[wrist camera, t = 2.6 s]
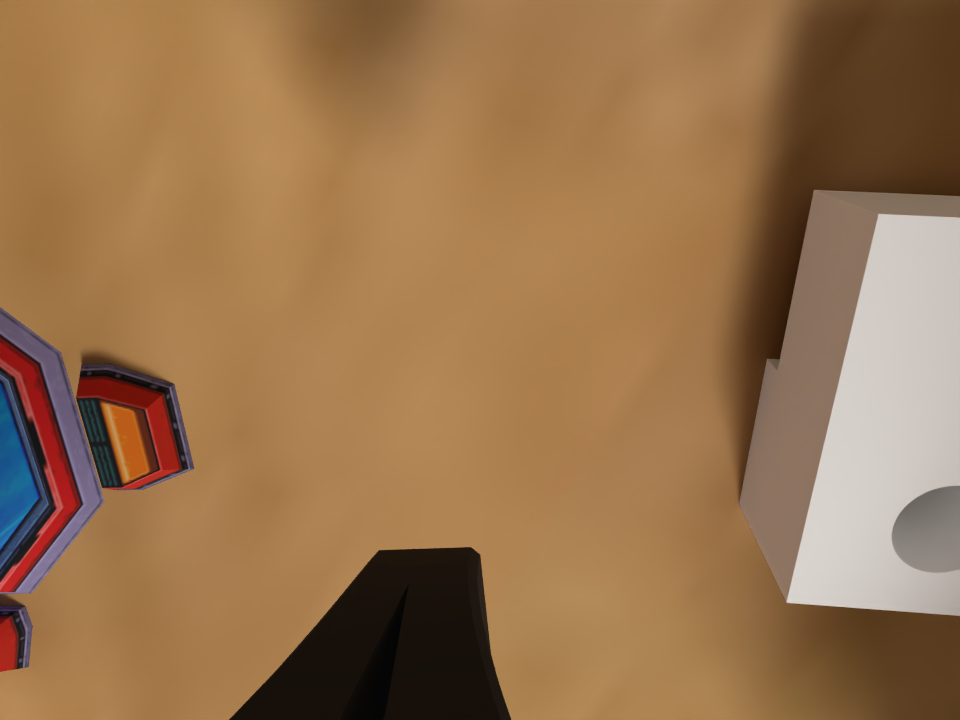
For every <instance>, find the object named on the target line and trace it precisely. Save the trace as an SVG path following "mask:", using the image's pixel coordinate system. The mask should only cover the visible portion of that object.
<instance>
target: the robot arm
mask: <svg viewBox="0 0 960 720" xmlns="http://www.w3.org/2000/svg"><path fill="white" fill-rule="evenodd" d="M229 720H511V718H510V715H509V712H508V709H507V706H506V703H505V700H504V697H503V694H502V691H501V688H500V685H499V681H498V678H497V675H496V671H495V667H494V664H493V660H492V656H491V650H490V641H489V632H488V623H487V613H486V604H485V595H484V586H483V577H482V567H481V558H480V554H479V553H477V552H476V551H475V550H474V549H472V548H471V547H464V548H434V549H404V550H379V551H378V552H377V553H376V554H375V555H374V557H373V558H372V559H371V560H370V561H369V562H368V563H367V565H366V566H365V567H364V568H363V569H362V571H361V572H360V573H359V574H358V575H357V577H356V578H355V579H354V580H353V582H352V583H351V584H350V585H349V586H348V588H347V589H346V590H345V591H344V593H343V594H342V595H341V596H340V597H339V599H338V600H337V601H336V602H335V603H334V605H333V606H332V607H331V608H330V609H329V611H328V612H327V613H326V614H325V615H324V617H323V618H322V619H321V620H320V621H319V622H318V624H317V625H316V626H315V627H314V628H313V629H312V631H311V632H310V633H309V634H308V635H307V636H306V637H305V639H304V640H303V641H302V642H301V643H300V644H299V645H298V646H297V648H296V649H295V650H294V651H293V652H292V653H291V654H290V656H289V657H288V658H287V659H286V660H285V661H284V662H283V664H282V665H281V666H280V667H279V668H278V669H277V670H276V671H275V672H274V673H273V675H272V676H271V677H270V678H269V679H268V680H267V681H266V682H265V683H264V684H263V685H262V686H261V687H260V688H259V689H258V690H257V691H256V692H255V693H254V694H253V695H252V697H251V698H250V699H249V700H248V701H247V702H246V703H245V704H244V705H243V706H242V707H241V708H240V709H239V710H238V711H237V712H236V713H235V714H234V715H233V716H232V717H231V718H230V719H229Z"/></svg>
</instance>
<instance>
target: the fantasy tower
mask: <svg viewBox="0 0 960 720" xmlns="http://www.w3.org/2000/svg"><path fill="white" fill-rule="evenodd" d="M76 399H77V403H78V406H79V410H80V413H81V416H82V420H83V423H84V427H85V430H86V434H87V437H88V440H89V444H90V447H91V451H92V454H93V458H94V461H95V465H96V468H97V471H98V475H99V478H100V482H101V485H102V488H106V489H113V490H144V489H146V488H148V487H151V486H153V485H156V484H158V483H160V482H163V481H165V480H168V479H170V478H173V477H175V476H178V475H180V474H182V473H185V472H187V471H190V470H192V469H194V466H193V462H192V457H191V453H190V449H189V445H188V440H187V436H186V432H185V428H184V423H183V419H182V415H181V411H180V406H179V402H178V398H177V394H176V389H175V385H174V384H172V383H169V382H166V381H163V380H160V379H156V378H153V377H150V376H147V375H144V374H140V373H137V372H134V371H131V370H128V369H125V368H121V367H118V366H115V365H112V364H82V365H81V372H80V378H79V384H78V390H77V397H76ZM103 502H104V499H103V495H102V492H101V488H100V485H99V481H98V478H97V475H96V471H95V468H94V464H93V461H92V458H91V454H90V451H89V447H88V444H87V440H86V437H85V434H84V430H83V427H82V423H81V420H80V416H79V413H78V410H77V406H76V403H75V399H74V396H73V392H72V389H71V386H70V382H69V379H68V375H67V372H66V368H65V365H64V362H63V358H62V355H61V352H60V351H58V350H57V349H55V348H54V347H53V346H51V345H50V344H49V343H47V342H46V341H45V340H43V339H42V338H41V337H39V336H38V335H37V334H35V333H34V332H33V331H31V330H30V329H29V328H27V327H26V326H25V325H23V324H22V323H21V322H19V321H18V320H17V319H15V318H14V317H13V316H11V315H10V314H9V313H7V312H6V311H5V310H3V309H2V308H0V594H12V593H32V592H33V591H34V590H35V588H36V587H37V586H38V585H39V583H40V582H41V581H42V580H43V578H44V577H45V576H46V575H47V573H48V572H49V571H50V569H51V568H52V567H53V566H54V564H55V563H56V562H57V561H58V559H59V558H60V557H61V556H62V554H63V553H64V552H65V550H66V549H67V548H68V547H69V545H70V544H71V543H72V542H73V540H74V539H75V538H76V536H77V535H78V534H79V533H80V531H81V530H82V529H83V528H84V526H85V525H86V524H87V523H88V521H89V520H90V519H91V517H92V516H93V515H94V514H95V512H96V511H97V510H98V509H99V507H100V506H101V505H102V504H103ZM32 627H33V626H32V623H31V620H30V618H29V615H28V612H27V609H26V607H25V606H0V672H1V671H7V670H13V669H20V668H26V667H29V658H30V647H31V636H32Z"/></svg>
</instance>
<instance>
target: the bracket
mask: <svg viewBox="0 0 960 720" xmlns="http://www.w3.org/2000/svg"><path fill="white" fill-rule="evenodd" d="M739 506H740V508H741V510H742V512H743V514H744V516H745V518H746V520H747V522H748V524H749V526H750V529H751V531H752V533H753V535H754V537H755V539H756V541H757V543H758V545H759V547H760V549H761V551H762V553H763V555H764V557H765V559H766V562H767V564H768V566H769V568H770V570H771V572H772V574H773V576H774V578H775V580H776V582H777V584H778V586H779V588H780V590H781V592H782V595H783V597H784V599H785V601H786V603H797V604H810V605H824V606H837V607H850V608H863V609H876V610H890V611H903V612H916V613H929V614H943V615H956V616H960V196H945V195H922V194H899V193H876V192H853V191H830V190H814V192H813V197H812V202H811V207H810V212H809V217H808V222H807V227H806V232H805V237H804V242H803V247H802V252H801V257H800V261H799V266H798V271H797V276H796V281H795V286H794V291H793V296H792V301H791V306H790V311H789V316H788V321H787V326H786V331H785V336H784V341H783V346H782V351H781V356H780V359H767V362H766V367H765V372H764V377H763V382H762V388H761V393H760V398H759V403H758V408H757V413H756V419H755V424H754V429H753V434H752V439H751V445H750V450H749V455H748V460H747V465H746V470H745V476H744V481H743V486H742V491H741V496H740V501H739Z"/></svg>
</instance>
